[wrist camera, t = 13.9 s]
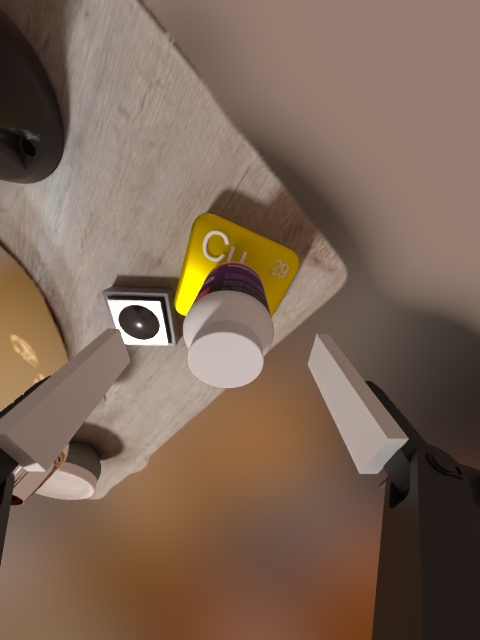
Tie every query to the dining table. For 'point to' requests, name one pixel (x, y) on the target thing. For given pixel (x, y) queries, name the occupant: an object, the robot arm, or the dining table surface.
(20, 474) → the wineglass
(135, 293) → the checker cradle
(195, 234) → the element tile
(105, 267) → the dining table surface
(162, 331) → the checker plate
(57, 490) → the bowl
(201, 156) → the dining table surface
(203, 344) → the pill bottle
